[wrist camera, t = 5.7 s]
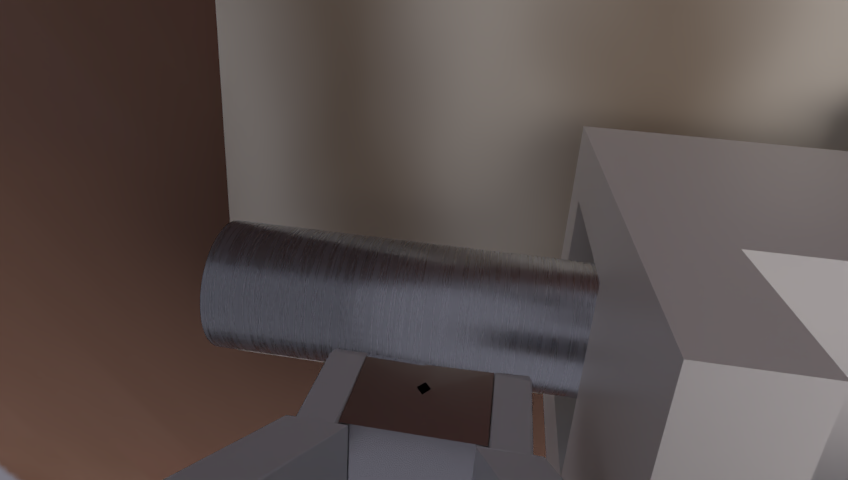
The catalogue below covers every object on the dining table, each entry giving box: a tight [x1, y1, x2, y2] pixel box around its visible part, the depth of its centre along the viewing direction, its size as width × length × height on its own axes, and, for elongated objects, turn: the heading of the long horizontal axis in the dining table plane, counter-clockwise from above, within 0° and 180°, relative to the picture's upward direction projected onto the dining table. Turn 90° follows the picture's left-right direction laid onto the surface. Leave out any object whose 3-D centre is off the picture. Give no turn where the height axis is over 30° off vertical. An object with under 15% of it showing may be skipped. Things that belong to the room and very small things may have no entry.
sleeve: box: [543, 126, 848, 480], centre depth 9 cm, size 6×6×8 cm
